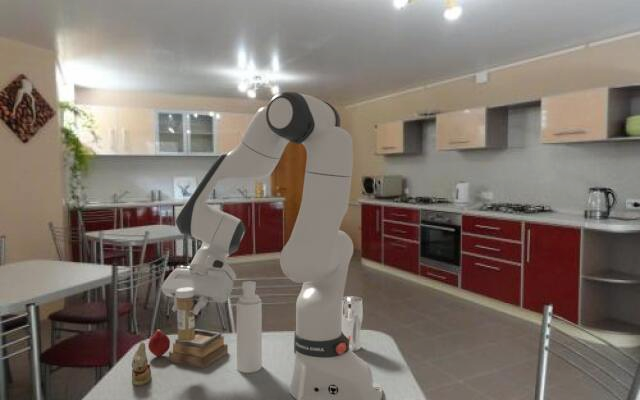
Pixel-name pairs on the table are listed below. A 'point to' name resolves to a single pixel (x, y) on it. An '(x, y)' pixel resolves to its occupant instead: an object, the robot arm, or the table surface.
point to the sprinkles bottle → (185, 314)
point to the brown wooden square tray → (199, 349)
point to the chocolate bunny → (140, 367)
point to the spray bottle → (249, 329)
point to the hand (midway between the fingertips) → (184, 312)
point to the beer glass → (352, 320)
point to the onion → (159, 343)
